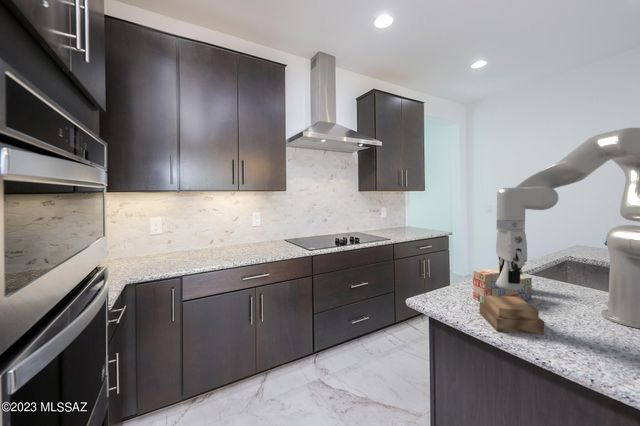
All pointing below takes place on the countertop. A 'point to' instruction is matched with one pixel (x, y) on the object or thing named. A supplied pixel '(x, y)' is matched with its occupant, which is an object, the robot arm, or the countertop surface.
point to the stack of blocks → (487, 286)
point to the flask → (503, 278)
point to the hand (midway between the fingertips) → (509, 279)
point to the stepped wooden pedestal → (511, 315)
